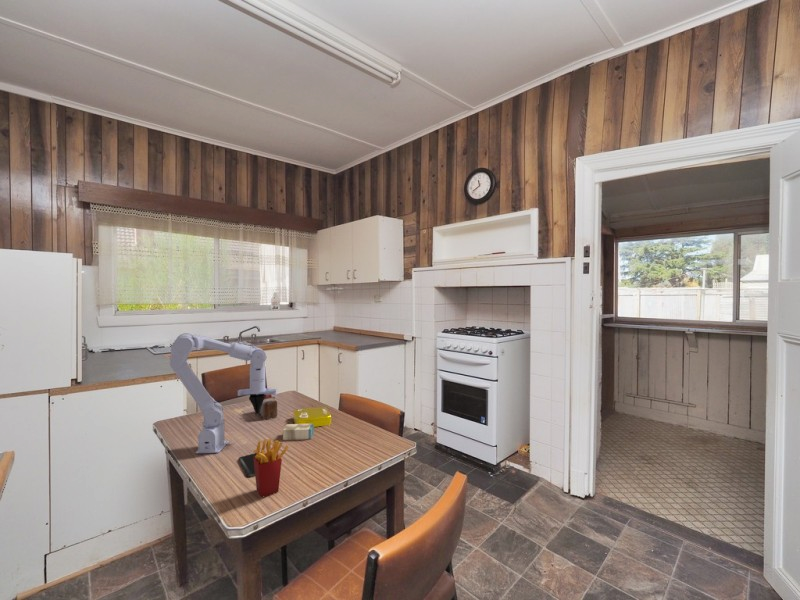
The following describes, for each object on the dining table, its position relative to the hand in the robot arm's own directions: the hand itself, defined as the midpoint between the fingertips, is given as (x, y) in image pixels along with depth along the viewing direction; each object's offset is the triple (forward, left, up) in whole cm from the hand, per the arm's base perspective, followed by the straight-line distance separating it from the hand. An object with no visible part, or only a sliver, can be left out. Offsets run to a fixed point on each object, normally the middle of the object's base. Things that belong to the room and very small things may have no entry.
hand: (257, 413), depth 138 cm
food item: (+28, +4, -11) cm, 31 cm away
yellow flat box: (+18, -18, -11) cm, 28 cm away
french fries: (-36, -15, -11) cm, 40 cm away
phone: (-21, -6, -11) cm, 24 cm away
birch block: (+2, -10, -9) cm, 13 cm away
